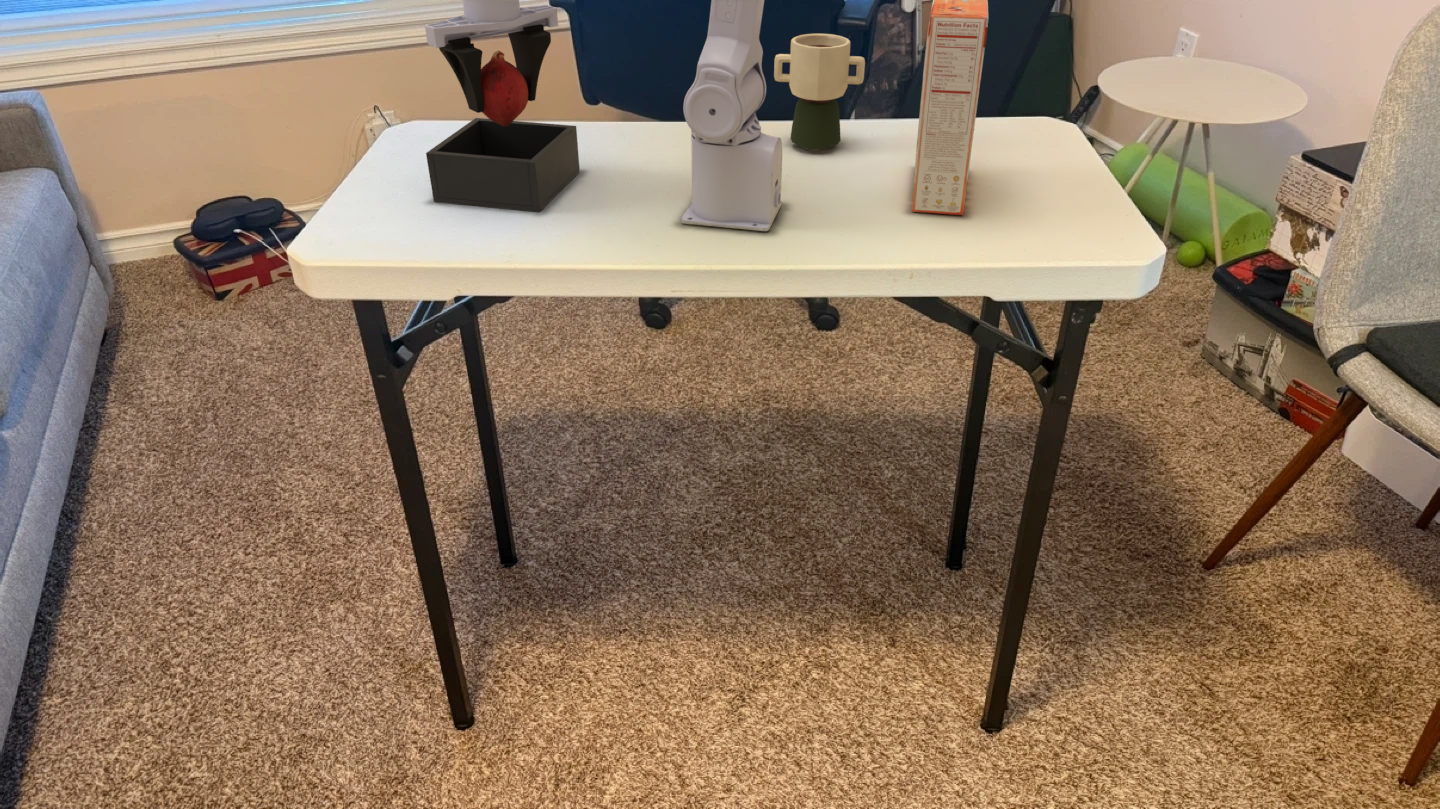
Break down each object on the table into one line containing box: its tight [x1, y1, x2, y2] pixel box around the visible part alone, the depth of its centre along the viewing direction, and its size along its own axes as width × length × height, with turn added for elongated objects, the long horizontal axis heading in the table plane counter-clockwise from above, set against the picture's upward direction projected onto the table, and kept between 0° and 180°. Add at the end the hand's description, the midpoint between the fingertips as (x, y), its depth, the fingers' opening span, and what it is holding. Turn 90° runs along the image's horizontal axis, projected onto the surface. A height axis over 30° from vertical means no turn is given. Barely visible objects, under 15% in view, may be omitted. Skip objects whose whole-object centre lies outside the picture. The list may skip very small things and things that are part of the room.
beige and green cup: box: [773, 33, 866, 151], centre depth 125 cm, size 11×7×13 cm, turn 83°
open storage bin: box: [425, 117, 581, 213], centre depth 115 cm, size 13×13×6 cm
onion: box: [481, 50, 529, 126], centre depth 110 cm, size 6×6×8 cm
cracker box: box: [911, 0, 989, 216], centre depth 110 cm, size 14×6×21 cm, turn 168°
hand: (503, 104), depth 111 cm, fingers closed on onion, 6 cm apart
